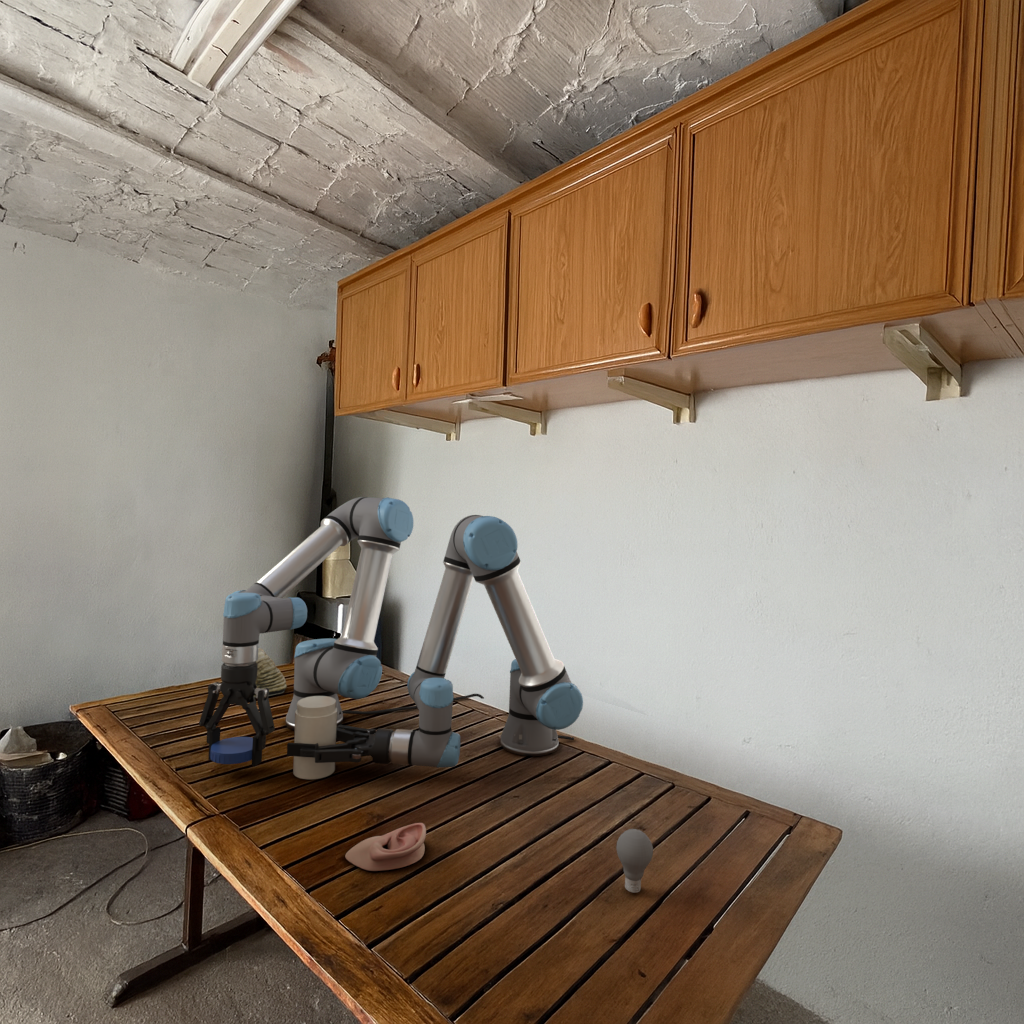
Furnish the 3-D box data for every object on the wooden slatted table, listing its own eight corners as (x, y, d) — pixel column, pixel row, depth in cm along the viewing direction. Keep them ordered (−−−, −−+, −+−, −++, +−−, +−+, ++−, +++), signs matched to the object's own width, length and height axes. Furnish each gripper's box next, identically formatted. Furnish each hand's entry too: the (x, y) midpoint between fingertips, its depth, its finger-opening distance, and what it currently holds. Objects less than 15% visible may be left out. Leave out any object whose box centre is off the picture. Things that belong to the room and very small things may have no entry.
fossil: (218, 695, 195) (220, 647, 195) (278, 685, 208) (279, 640, 207) (228, 703, 189) (230, 653, 188) (289, 692, 201) (290, 645, 201)
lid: (223, 768, 135) (223, 757, 135) (201, 754, 142) (202, 744, 142) (268, 755, 143) (268, 745, 143) (245, 743, 150) (246, 733, 150)
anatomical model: (337, 842, 109) (366, 811, 120) (336, 865, 109) (365, 832, 120) (410, 854, 106) (432, 821, 117) (409, 878, 106) (432, 842, 118)
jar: (304, 760, 151) (306, 693, 151) (341, 764, 150) (343, 697, 150) (285, 777, 142) (288, 706, 142) (325, 781, 141) (327, 709, 141)
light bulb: (610, 879, 108) (613, 822, 108) (644, 879, 109) (647, 822, 109) (619, 902, 102) (622, 840, 102) (655, 901, 103) (658, 840, 103)
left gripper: (183, 661, 141) (179, 760, 141) (276, 671, 136) (271, 774, 137) (206, 654, 148) (201, 748, 148) (294, 663, 144) (289, 760, 144)
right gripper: (379, 784, 134) (275, 777, 135) (402, 744, 156) (312, 738, 157) (381, 749, 134) (277, 742, 135) (403, 714, 156) (313, 708, 157)
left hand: (235, 760), depth 143 cm, fingers closed on lid, 10 cm apart
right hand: (296, 740), depth 146 cm, fingers closed on jar, 9 cm apart
